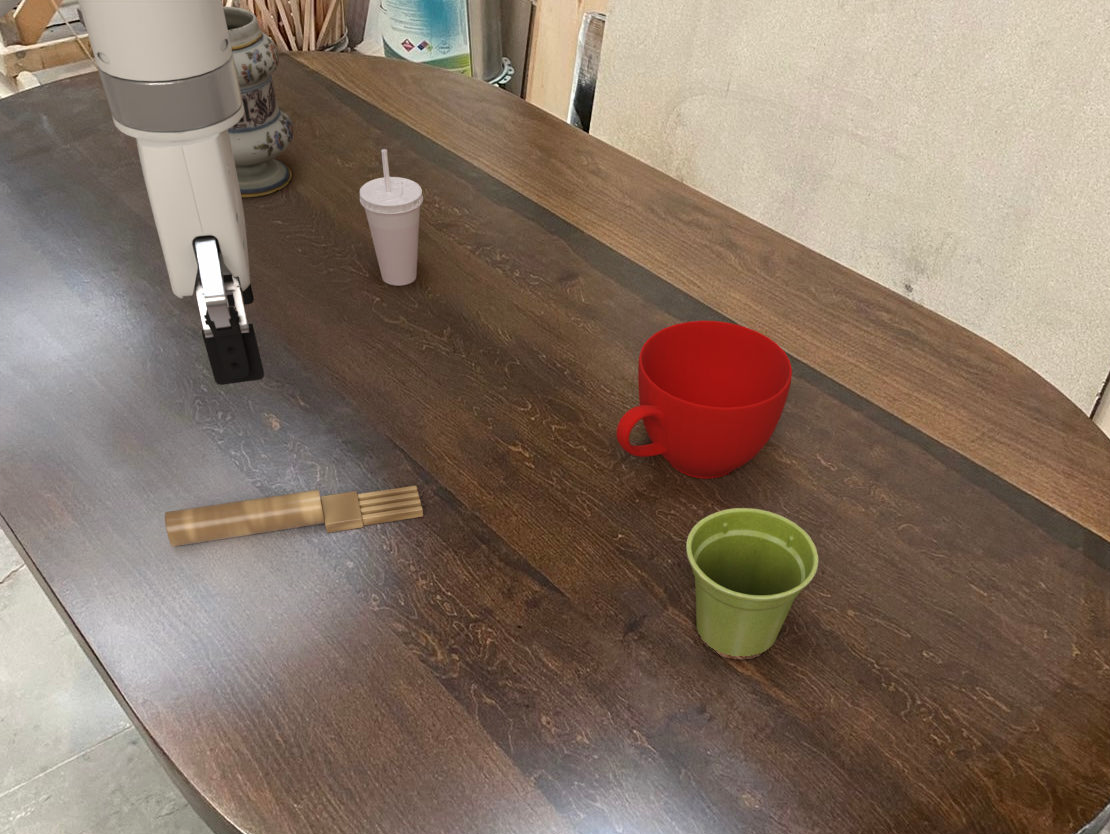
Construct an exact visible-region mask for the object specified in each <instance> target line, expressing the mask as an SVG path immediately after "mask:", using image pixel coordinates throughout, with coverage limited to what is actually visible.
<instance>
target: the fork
mask: <svg viewBox="0 0 1110 834" xmlns="http://www.w3.org/2000/svg"><path fill="white" fill-rule="evenodd" d="M422 517H424V509H423V506H422V502H421V499H420V494H419V491H418V487H417V485H411V486H404V487H397V488H396V487H395V488H391V489H390V488H389V489H381V490H376V491H369V492H362V493H358V492H357V491H356V490H354V491H348V492H347V491H346V492H340V493H335V494H333V493H332V494H328V495H327V494H326V495H321V493H320V489H312V490H307V491H300V492H293V493H284V494H279V495H272V496H271V495H270V496H266V497H257V498H251V499H245V500H238V501H230V502H224V503H223V502H222V503H217V504H211V505H202V506H197V507H196V506H195V507H189V508H184V509H183V508H182V509H176V510H170V511H165V512H164V523H165V530H166V534H167V538H168V541H169V544H170V546H171V547H178V546H185V545H192V544H199V543H204V542H212V541H218V540H224V539H225V540H226V539H232V538H238V537H244V536H245V537H246V536H250V535H257V534H264V533H270V532H277V531H278V532H279V531H283V530H290V529H297V528H303V527H309V526H316V525H322V524H324V526H325V531H326V533H327V534H329V533H334V532H335V533H337V532H341V531H348V530H355V529H360V528H361V529H362V528H364V527H365V526H371V525H377V524H384V523H390V522H397V521H404V520H409V519H415V518H416V519H417V518H422Z"/></svg>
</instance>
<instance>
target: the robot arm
mask: <svg viewBox="0 0 1110 834" xmlns="http://www.w3.org/2000/svg"><path fill="white" fill-rule="evenodd" d="M20 2H23V0H0V19H2V18H3V17H4V16H6V15H7V14H8V13H10V12H11V11H12V10H13V9H14V8H16V6H18V5H19V4H20ZM77 3H78V6H79V10H80V12H81V13H80V14H81V16H82V19H83V23H84V25H85V26H84V27H85V29H86V32H87V36H88V40H89V43H90V46H91V49H92V53H93V56H94V60H95V64H96V67H97V71H98V75H99V77H100V81H101V84H102V87H103V90H104V91H103V92H104V94H105V98H106V101H107V105H108V108H109V111H110V114H111V117H112V120H113V125H114V127H115V128H116V129H118V131H119V132H121V133H122V134H124V135H127V136H128V137H130V138H134V139H135V140H136V146H137V152H138V156H139V161H140V166H141V170H142V171H141V172H142V175H143V180H144V185H145V188H146V192H147V196H148V200H149V204H150V207H151V212H152V216H153V220H154V223H155V227H156V231H157V235H158V239H159V243H160V246H161V250H162V254H163V259H164V263H165V266H166V270H167V275H168V278H169V282H170V287H171V290H172V294H173V295H175V297H177V298H179V299H180V300H181V299H185V297H192V296H193V295H194V293H195V295H196V299H197V300H196V301H197V305H198V309H199V314H200V320H201V324H202V329H201V336H202V338H203V343H204V346H205V350H206V353H207V358H208V361H209V364H210V368H211V371H212V375H213V378H214V382H215V383H216V384H217V385H219V386H224V385H225V386H226V385H230V384H231V385H232V384H238V383H239V384H240V383H246V382H254V381H260V380H262V379H263V378H264V377H265V371H264V366H263V363H262V362H263V361H262V357H261V353H260V350H259V345H258V340H257V335H256V333H255V332H256V331H255V328H254V323H249V320H248V315H247V311H246V306H245V305H251V304H253V302H255V298H254V292H253V288H252V284H251V275H250V262H249V259H250V258H249V248H248V238H247V237H248V236H247V227H246V220H245V213H244V212H245V211H244V205H243V200H242V198H243V197H241V193H240V187H239V182H238V177H237V172H236V167H235V162H234V157H233V152H232V147H231V142H230V138H229V133H228V129H229V128H231V127H232V126H234V125H235V124H237V123H238V122H239V121H240V119H241V118H242V117H243V115H244V106H243V101H242V96H241V91H240V86H239V81H238V77H237V72H236V67H235V62H234V57H233V52H232V49H231V44H230V39H229V34H228V29H227V24H226V20H225V15H224V10H223V7H224V6H223V2H222V0H77Z"/></svg>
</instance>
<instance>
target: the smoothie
mask: <svg viewBox="0 0 1110 834" xmlns="http://www.w3.org/2000/svg"><path fill="white" fill-rule="evenodd" d="M380 152H381V161H382V170H383V177H378V178H374V179H372V180H369V181H367V182H365V183H363V185H362V186H361V187H360V188H359V202H360V205H361V206H362V207H363V208H364V211H365V215H366V220H367V224H368V227H369V231H370V236H371V239H372V244H373V248H374V252H375V256H376V259H377V264H378V267H379V271H380V276H381V279H382V281H383V282H384V283H386V284H388V285H390V286H395V287H396V286H406V285H410V284H412V283H414V282H415V281H416V279H417V272H418V251H419V231H420V215H421V214H420V212H421V211H420V209H421V205H422V203H423V202H424V196H423V190H422V187H421V186H420V184H419V183H417V182H416V181H414V180H412V179H409V178H405V177H400V176H390V167H389V158H388V149H385V148H383V149H381V150H380Z"/></svg>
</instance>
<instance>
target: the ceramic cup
mask: <svg viewBox="0 0 1110 834" xmlns="http://www.w3.org/2000/svg"><path fill="white" fill-rule="evenodd" d="M637 364H638V366H637V367H638V368H637V369H638V370H637V371H638V372H637V374H638V375H637V382H638V383H637V385H638V402H639V405H636V406H635V407H632V408H630V409H629V410H627V411H626V412H625V413H624V414H623V415H622V417H620V420H619V422H618V424H617V427H616V440H617V443H618V444H619V446H620V447H621V448H622V449H623V450H624V451H625V452H626V453H628V454H629V455H631V456H634V457H637V458H638V457H639V458H647V457H648V458H649V457H654V456H659V455H661V456H662V457H663V458H664V459H665V460H666V461H667V462H668V463H669V464H670V465H671V466H672V467H673V468H674V469H675V470H676V471H678V472H680V473H681V474H683V475H686V476H687V477H688V476H689V477H692V478H696V479H697V478H698V479H706V480H707V479H717V478H721V477H724V476H727V475H728V474H730V473H732V472H733V471H735V470H737V469H739V468H741V467H743V466H744V465H745V464H747V463H748V462H750V461H751V460H752V459H753V458H755V457H756V456H757V455H758V454H759V453H760V452H761V451H762V449H763V448H764V447H765V446H766V445H767V444H768V442H769V440H770V439H771V437H772V436H773V434H774V432H775V430H776V427H777V426H778V423H779V421H780V419H781V417H782V414H783V411H784V409H785V406H786V403H787V400H788V396H789V393H790V389H791V385H792V378H793V368H792V364H791V360H790V359H789V357H788V355H787V353H786V352H785V350H783V349H782V348H781V346H780V345H779V344H778V343H776V342H775V341H774V340H773V339H771V338H770V337H769V336H766V335H764V334H763V333H761V332H759V331H757V330H754V329H751V328H749V327H746V326H744V325H741V324H736V323H731V322H726V321H718V320H694V321H693V320H692V321H685V322H680V323H675V324H672V325H670V326H666V327H665V328H662V329H660V330H659V331H657V332H655V333H654V334H652V335H651V336H650V337H649V338H647V340H646V341H645V342H644V344H643V345H642V347H641V349H640V353H639V356H638V363H637ZM641 420H642V423H643V425H644V428H645V431H646V434H647V436H648V438H649V440H650V441H651V443H649V444H641V445H640V444H639V445H633V444H631V442H630V436H631V432H632V430H633V429H634V427H635V426H636V424H637V423H639V422H640V421H641Z"/></svg>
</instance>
